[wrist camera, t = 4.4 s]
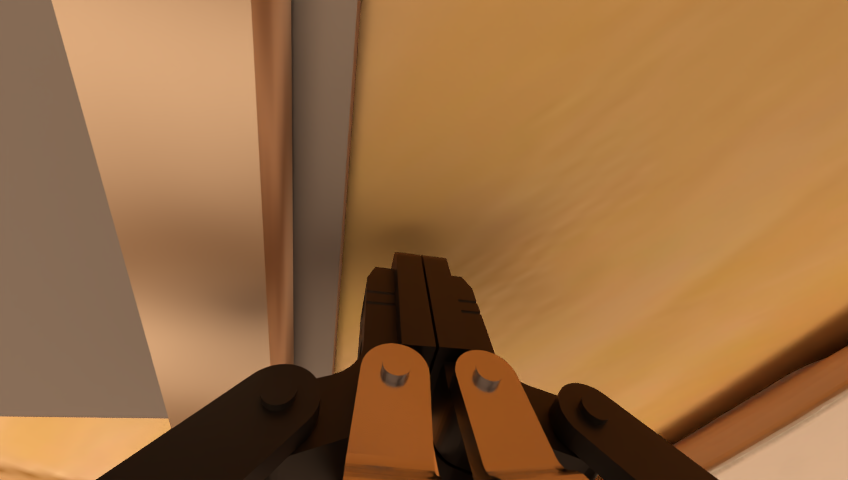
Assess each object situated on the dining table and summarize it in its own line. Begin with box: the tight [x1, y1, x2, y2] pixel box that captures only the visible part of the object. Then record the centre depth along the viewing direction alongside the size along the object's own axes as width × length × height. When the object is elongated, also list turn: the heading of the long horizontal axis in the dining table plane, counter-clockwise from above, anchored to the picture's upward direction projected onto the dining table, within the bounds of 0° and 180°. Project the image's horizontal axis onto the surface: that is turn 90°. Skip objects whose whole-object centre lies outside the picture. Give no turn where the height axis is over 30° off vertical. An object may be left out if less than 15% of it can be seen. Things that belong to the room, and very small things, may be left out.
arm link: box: [51, 0, 294, 429], centre depth 8 cm, size 19×4×4 cm, turn 170°
